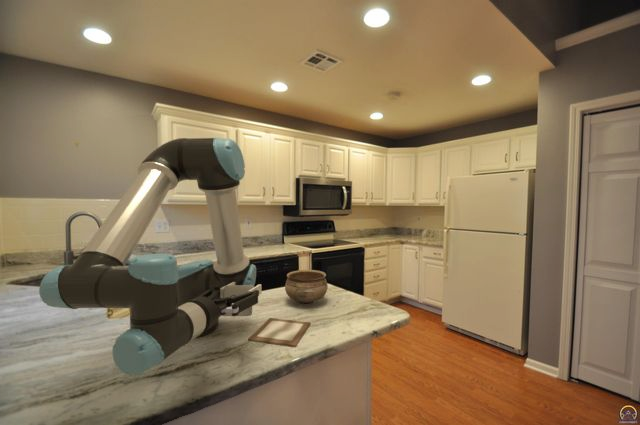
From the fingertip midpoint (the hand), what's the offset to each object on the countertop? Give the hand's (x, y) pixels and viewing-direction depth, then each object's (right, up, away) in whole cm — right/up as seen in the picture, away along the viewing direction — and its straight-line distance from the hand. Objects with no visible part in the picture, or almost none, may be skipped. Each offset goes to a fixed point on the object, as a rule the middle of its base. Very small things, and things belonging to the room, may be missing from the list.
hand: (247, 287), depth 80 cm
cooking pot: (+16, -17, +37) cm, 44 cm away
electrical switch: (-1, -6, -4) cm, 8 cm away
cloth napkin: (+9, -18, +9) cm, 22 cm away
